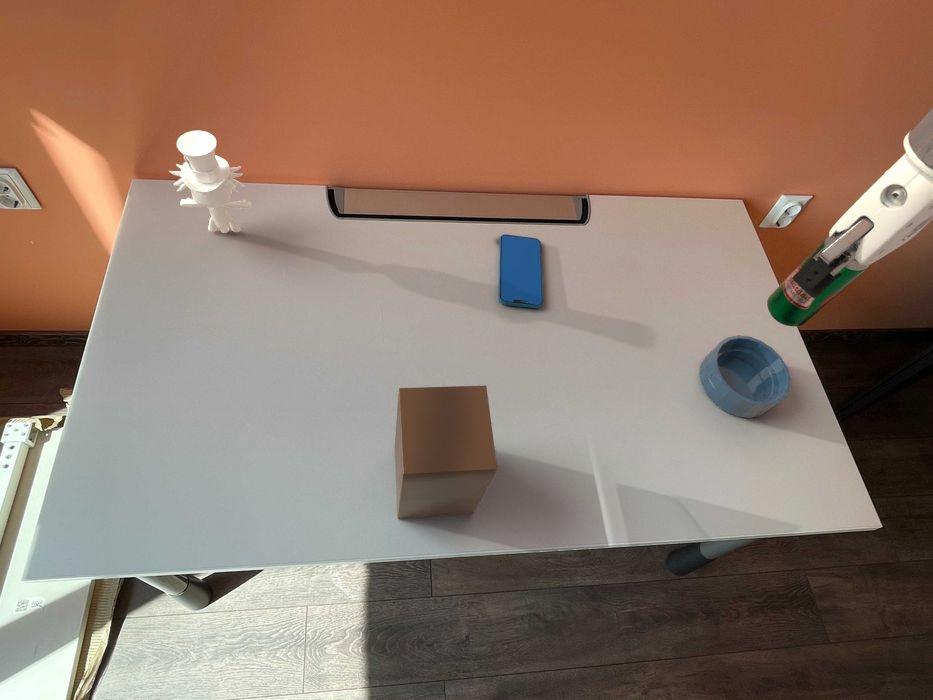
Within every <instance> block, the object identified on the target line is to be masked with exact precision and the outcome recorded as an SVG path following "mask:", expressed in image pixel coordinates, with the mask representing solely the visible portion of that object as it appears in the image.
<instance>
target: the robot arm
mask: <svg viewBox="0 0 933 700" xmlns="http://www.w3.org/2000/svg"><path fill="white" fill-rule="evenodd" d="M903 148H904V151H905V153H904V154H903V155H902V156H901V157H900V158H899V159H897V161H896V162H895V163H893V165H892V166H891V167H890V168H889V169H887V170H886V171H885V172H884V173H883V174H882V175H881V176H880V177H879V178H878V179H877V180H876V181H875V182H874V183H873V184H872V185H871V186H870V187H869V188H868V189H867V190H866V191H865V192H864V193H863V194H862V195H861V196H860V197H859V198H858V199H857V200H856V201H855V202H854V204H853V205H852V206H850V207H849V208H848V210H847V211H846V212H845V213H844V214H843V215H842V216H841V217H840V218H839V219H838V220H837V221H836V222H835V223H834V225H832V227H831V228H830V230H829V232H828V236H829V237H830V238H834V239H833V240H832V241H830V242H829V243H828V244H827V245H826V246H825V247H824V248H823V249H822V250H821V251H820V252H818V253H817V254H815V255H814V256H813V257H812V258H811V259H810V260H809V261H808V262H807V263H806V264H805V265H804V266H803V267H802V268H801V269H800V270H799V271H798V272H797V273H796V274H795V276H794V277H793V280H794V281H795V282H796V283H797V284H798V285H799V286H800V287H801V288H802V289H803V290H804V291H805V292H806V293H807V294H809V295H810V296H811V297H812V298H816V297H817V296H819V295H820V294H821V293H822V292H823V291H824V290H825V289H827V288H828V287H829V286H830V285H831V284H832V283H833V282H834V281H835V280H836V279H837V278H839V277H840V276H841V274H840V272H841V271H842V270H843V269H844V268H845V267H847V266H848V265H849V264H850V263H851V262H852V261H854V260H857V261H858V262H859V264H860V265H869V266H870V265H872V264H874V263H875V262H877V261H879V260H881V259H882V258H884V257H885V256H887V255H889V254H891V253H892V252H893V251H895V250H897V249H898V248H900V247H902V246H903V245H904V244H906V243H907V242H909V241H910V240H911V239H913V238H914V237H915V236H916V235H918V234H919V233H920V232H921V231H922V230H923V229H924V228H925V227H926V226H927V225H928V224H929V223H930V222H931V221H932V220H933V106H932V107H931V108H930V109H929V110H928V111H927V113H925V115H923V117H921V119H919V121H917V123H916V124H915V125H914V126H913V127H912V128H911V129H910V130H909V132H908V133H907V134H906V135H905V136H904V138H903ZM856 242H857V243H858V244H859V246H858V249H857V248H856V247H855V246H853V245H854V244H855V243H856ZM844 252H846V253H847V254H848V255H849V256H848V257H847V258H846V259H844V260H843V261H842V262H841V259H839V257H840V255H841V254H843V253H844ZM840 262H841V263H840Z"/></svg>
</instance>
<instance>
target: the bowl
mask: <svg viewBox="0 0 933 700" xmlns="http://www.w3.org/2000/svg"><path fill="white" fill-rule="evenodd" d="M699 378H700V383H701V385H702V388H703V389H704V392H705V393H706V395H707V397H708V398H709V399H710V400H711V401H712V402H713V403H714V404H715V405H716V406H717V407H719V408H720V409H721V410H723V411H725V412H726V413H728V414H731V415H733V416H735V417H739V418H749V419H752V418H756V417H761V416H763V415H764V414H765V413H767V412H768V411H769V410H771V409H773V408H774V407H775V406H777V405H778V404H779V403H780V402H782V401H783V400H785V399H786V398H787V396H788V394H789V392H790V391H791V381H792V378H791V374H790V371H789V368H788V365H786V363H785V361H784V359H783V357H782V356H781V355H780V354H779V353H778V352H777V351H776V350H775V349H774V348H773V347H772V346H770V345H769V344H767V343H765V341H763V340H760V339H758V338H755V337H752V336H750V335H749V336H748V335H732V336H727V337H726V338H724V339H723V340H721V341H720V342H718V344H716V346H715V347H713V348H712V350H711V351H710V352H709V353H708V354H706V356H705V357H704V359H702V362H701V364H700V368H699Z"/></svg>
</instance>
